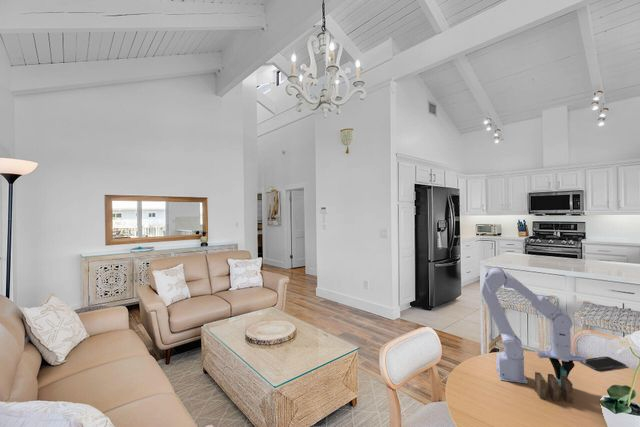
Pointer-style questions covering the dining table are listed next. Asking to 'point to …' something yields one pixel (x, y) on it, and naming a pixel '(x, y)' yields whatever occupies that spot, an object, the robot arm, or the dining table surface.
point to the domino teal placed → (562, 372)
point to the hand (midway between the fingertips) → (561, 378)
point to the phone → (603, 363)
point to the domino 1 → (540, 385)
